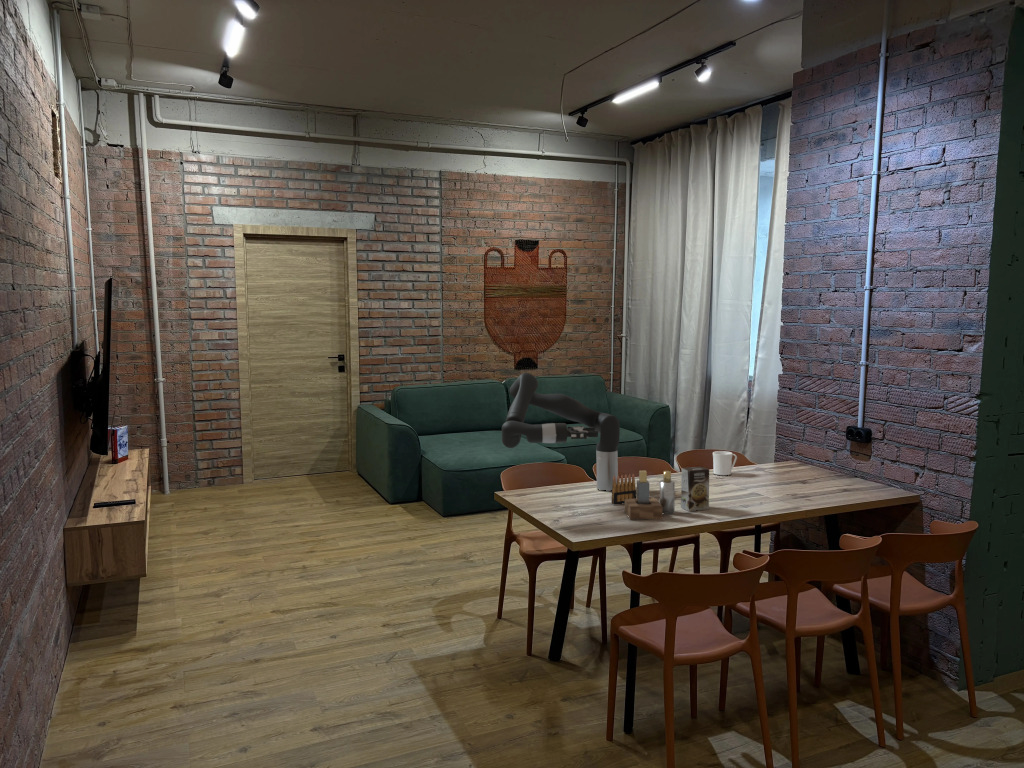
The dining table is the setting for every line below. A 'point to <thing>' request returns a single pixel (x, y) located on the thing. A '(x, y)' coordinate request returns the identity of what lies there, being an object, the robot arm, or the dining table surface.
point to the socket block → (643, 509)
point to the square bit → (642, 488)
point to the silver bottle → (667, 493)
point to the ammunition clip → (623, 489)
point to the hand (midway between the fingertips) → (596, 432)
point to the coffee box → (695, 488)
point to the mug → (723, 463)
